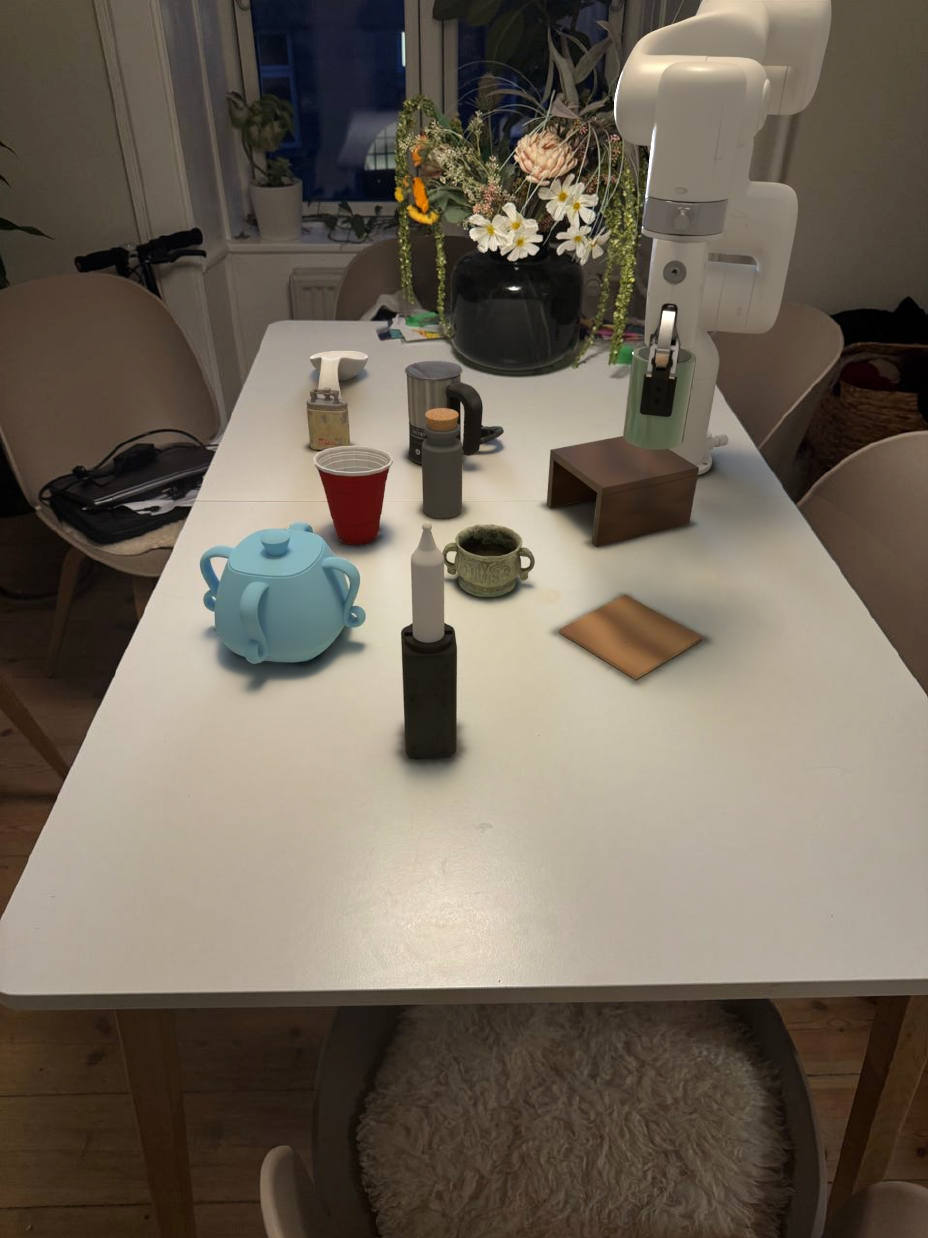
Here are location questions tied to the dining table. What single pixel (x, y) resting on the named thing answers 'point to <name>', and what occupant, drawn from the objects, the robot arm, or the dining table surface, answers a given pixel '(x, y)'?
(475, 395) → the milk frother
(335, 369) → the spoon rest
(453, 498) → the bottle
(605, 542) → the shelf
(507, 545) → the vessel
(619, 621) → the coaster
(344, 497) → the plastic cup
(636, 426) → the tumbler
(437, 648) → the candle
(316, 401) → the lighter
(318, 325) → the dining table surface
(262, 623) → the decorative pot
